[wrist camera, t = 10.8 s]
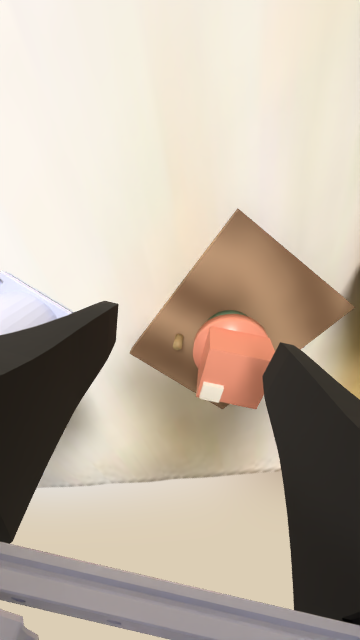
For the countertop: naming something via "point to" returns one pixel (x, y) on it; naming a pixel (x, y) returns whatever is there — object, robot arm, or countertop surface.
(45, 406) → the robot arm
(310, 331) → the board
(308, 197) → the countertop surface
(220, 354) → the lid
